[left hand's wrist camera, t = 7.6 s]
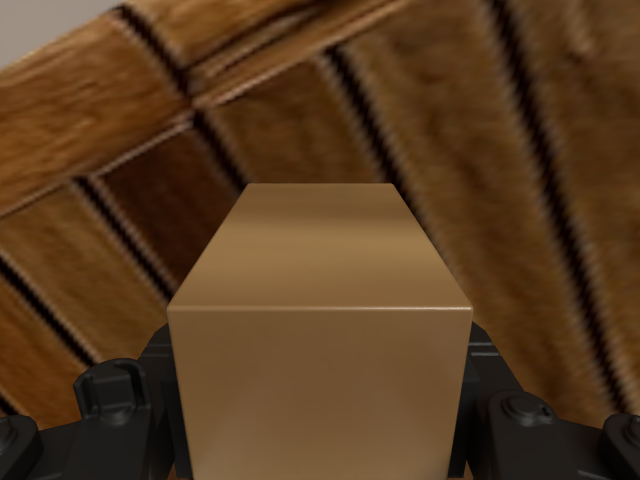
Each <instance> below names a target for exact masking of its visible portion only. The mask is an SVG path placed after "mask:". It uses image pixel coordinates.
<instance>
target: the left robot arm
mask: <svg viewBox="0 0 640 480" xmlns="http://www.w3.org/2000/svg"><path fill="white" fill-rule="evenodd" d="M73 388H74V392H75V395H76V399H77V402H78V406H79V410H80V413H81V417H82V419H81V420H80V421H77V422H73V423H70V424H66V425H62V426H57V427H53V428H49V429H45V430H41V431H39V430H38V427H37V424H36V422H35V421H34V420H33V419H32V418H31V417H29V416H23V415H13V416H6V417H2V418H0V480H167V478H168V475H169V473H170V470H171V467H172V465H173V462H174V463H175V469H176V474H177V478H193V475H192V469H191V462H190V456H189V450H188V443H187V437H186V431H185V424H184V418H183V412H182V405H181V399H180V393H179V387H178V380H177V374H176V368H175V361H174V355H173V349H172V342H171V336H170V330H169V323H167V324H165V325H164V326H163V327H161V328H160V329H159V330H157V331H156V332H155V333H154V335H153V336H152V338H151V340H150V341H149V343H148V344H147V347H145V349H144V351H143V352H142V354H141V357H139V358H138V360H135V359H131V358H116V359H112V360H108V361H104V362H101V363H99V364H97V365H95V366H93V367H91V368H89V369H88V370H86V371H85V372H84V373H82V374H81V375H80V376H79V377H78V378H77V380H76V381H75V382H74V384H73ZM466 459H467V462H468V464H469V467H470V470H471V472H472V475H473V480H640V416H638V415H633V414H625V413H620V414H614V415H611V416H609V417H608V418H607V419H606V420H605V422H604V425H603V428H602V429H598V428H594V427H590V426H586V425H581V424H577V423H573V422H569V421H566V420H563V419H560V418H558V416H557V415H556V413H555V412H554V410H553V408H552V407H550V406H549V405H548V404H547V403H546V402H545V401H543V400H542V399H540V398H538V397H537V396H535V395H533V394H531V393H528V392H525V391H524V390H523V389H522V387H521V386H520V384H519V382H518V381H517V379H516V378H515V376H514V375H513V373H512V372H511V370H510V368H509V367H508V365H507V364H506V362H505V361H504V359H503V358H502V356H500V353H499V351H498V350H497V348H496V347H495V346H493V342H492V340H491V339H490V337H489V336H488V334H487V333H486V331H485V330H483V329H482V328H481V327H479V326H478V325H477V324H475V323H474V322H473V321H472V324H471V331H470V337H469V343H468V349H467V356H466V362H465V368H464V375H463V381H462V387H461V394H460V400H459V406H458V413H457V419H456V425H455V431H454V438H453V444H452V450H451V457H450V463H449V469H448V476H447V478H463V476H464V470H465V465H466Z"/></svg>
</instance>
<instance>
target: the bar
mask: <svg viewBox="0 0 640 480" xmlns="http://www.w3.org/2000/svg"><path fill="white" fill-rule="evenodd" d="M166 311H167V317H168V323H169V330H170V336H171V342H172V349H173V355H174V361H175V368H176V374H177V380H178V387H179V393H180V399H181V405H182V412H183V418H184V424H185V431H186V437H187V443H188V450H189V456H190V462H191V469H192V475H193V480H447V476H448V469H449V463H450V457H451V450H452V444H453V438H454V431H455V425H456V419H457V413H458V406H459V400H460V394H461V387H462V381H463V375H464V368H465V362H466V356H467V349H468V343H469V337H470V331H471V324H472V318H473V312H474V309H473V306H472V304H471V303H470V301H469V300H468V298H467V297H466V295H465V294H464V292H463V291H462V289H461V287H460V286H459V284H458V283H457V281H456V280H455V278H454V277H453V275H452V274H451V272H450V271H449V269H448V268H447V266H446V265H445V263H444V262H443V260H442V259H441V257H440V256H439V254H438V252H437V251H436V249H435V248H434V246H433V245H432V243H431V242H430V240H429V239H428V237H427V236H426V234H425V233H424V231H423V230H422V228H421V227H420V225H419V224H418V222H417V221H416V219H415V217H414V216H413V214H412V213H411V211H410V210H409V208H408V207H407V205H406V204H405V202H404V201H403V199H402V198H401V196H400V195H399V193H398V192H397V190H396V189H395V187H394V186H393V184H248V185H247V186H246V188H245V189H244V191H243V192H242V194H241V195H240V197H239V198H238V200H237V201H236V203H235V204H234V206H233V207H232V209H231V210H230V212H229V213H228V215H227V216H226V218H225V219H224V221H223V222H222V224H221V226H220V227H219V229H218V230H217V232H216V233H215V235H214V236H213V238H212V239H211V241H210V242H209V244H208V245H207V247H206V248H205V250H204V251H203V253H202V254H201V256H200V257H199V259H198V260H197V262H196V263H195V265H194V266H193V268H192V269H191V271H190V272H189V274H188V275H187V277H186V279H185V280H184V282H183V283H182V285H181V286H180V288H179V289H178V291H177V292H176V294H175V295H174V297H173V298H172V300H171V301H170V303H169V304H168V306H167V309H166Z"/></svg>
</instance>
